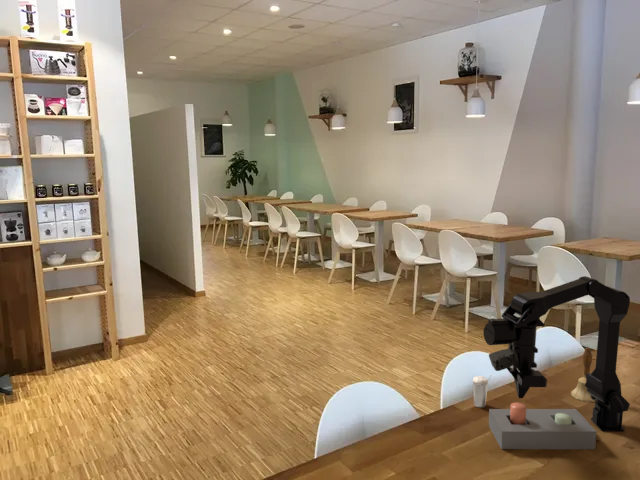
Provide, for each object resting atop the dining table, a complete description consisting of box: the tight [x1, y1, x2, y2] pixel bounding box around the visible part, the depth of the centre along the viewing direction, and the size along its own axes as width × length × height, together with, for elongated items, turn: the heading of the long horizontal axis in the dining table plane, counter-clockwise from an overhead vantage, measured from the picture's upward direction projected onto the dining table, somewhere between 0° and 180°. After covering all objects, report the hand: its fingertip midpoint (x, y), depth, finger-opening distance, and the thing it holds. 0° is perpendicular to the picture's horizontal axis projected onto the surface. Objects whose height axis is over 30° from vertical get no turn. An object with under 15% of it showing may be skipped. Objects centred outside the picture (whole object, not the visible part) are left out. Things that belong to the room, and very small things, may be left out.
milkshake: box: [472, 375, 492, 409], centre depth 160 cm, size 4×5×10 cm
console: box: [488, 408, 597, 450], centre depth 143 cm, size 24×12×5 cm, turn 88°
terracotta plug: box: [509, 402, 527, 425], centre depth 142 cm, size 4×4×5 cm
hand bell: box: [570, 347, 596, 403], centre depth 164 cm, size 8×8×16 cm
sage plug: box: [555, 413, 571, 425], centre depth 142 cm, size 4×4×5 cm
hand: (520, 397), depth 141 cm, fingers closed
